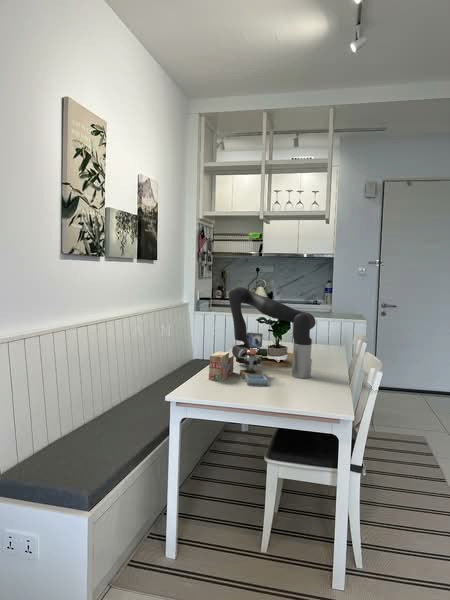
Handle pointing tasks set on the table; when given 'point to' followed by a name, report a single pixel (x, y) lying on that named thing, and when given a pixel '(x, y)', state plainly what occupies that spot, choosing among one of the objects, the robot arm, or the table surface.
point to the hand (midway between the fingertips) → (251, 363)
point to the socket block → (243, 372)
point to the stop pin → (250, 361)
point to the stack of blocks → (220, 365)
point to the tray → (256, 380)
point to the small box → (254, 340)
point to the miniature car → (262, 351)
